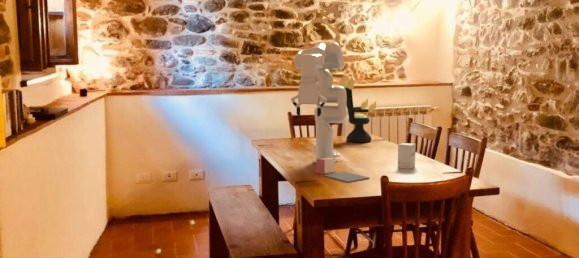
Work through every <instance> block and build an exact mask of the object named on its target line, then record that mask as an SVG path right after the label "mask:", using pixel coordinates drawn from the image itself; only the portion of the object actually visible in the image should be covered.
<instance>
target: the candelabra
mask: <svg viewBox="0 0 579 258" xmlns="http://www.w3.org/2000/svg"><path fill="white" fill-rule="evenodd" d="M354 84H355V80H354V78H353V76H350V78H349V76H348V75H347V74H346V75H345V74H343V78H341V81H340V85H339V86H343V87H344V88H345V89H346V95H347V102H346V111H347V114H348V122H349V124H350V125H354V129H353V130H352V131H350V132H349V133H348V134H347V136H346V138H345V139H346V141H347V142H350V143H361V144H362V143H369V142H371V141H372V137H371V135H370V134H369V132H368V131H366V129H364V125H367V124H369V122H370V118H369V117H368V116H367V115H366V114H364V113H375V112H374V110H375V109H376V108H377V101H376V100H375V101H374V103H373V102H372V103H371V104H370V105H369V102H368V101H369V99H368V98H367V99H365V100H364V101H363V102H362V103H361V104H360V106H354V100H353V90H352V89H354V88H356V86H355V85H354ZM368 105H369V107H368V108H367V109H366V107H367V106H368Z"/></svg>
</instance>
